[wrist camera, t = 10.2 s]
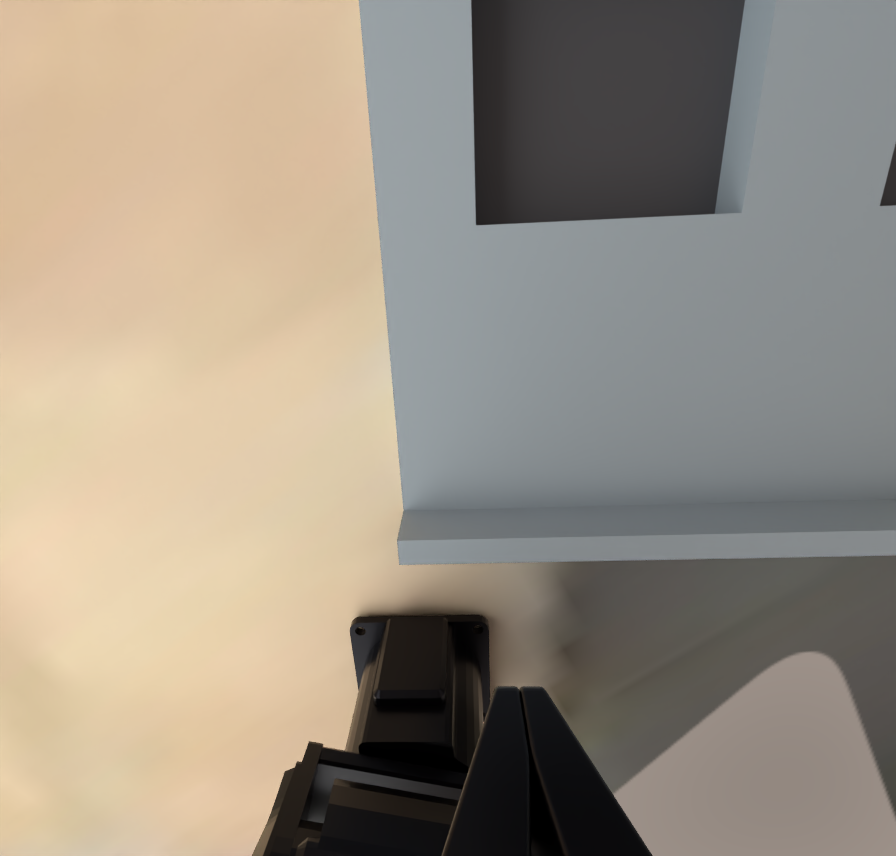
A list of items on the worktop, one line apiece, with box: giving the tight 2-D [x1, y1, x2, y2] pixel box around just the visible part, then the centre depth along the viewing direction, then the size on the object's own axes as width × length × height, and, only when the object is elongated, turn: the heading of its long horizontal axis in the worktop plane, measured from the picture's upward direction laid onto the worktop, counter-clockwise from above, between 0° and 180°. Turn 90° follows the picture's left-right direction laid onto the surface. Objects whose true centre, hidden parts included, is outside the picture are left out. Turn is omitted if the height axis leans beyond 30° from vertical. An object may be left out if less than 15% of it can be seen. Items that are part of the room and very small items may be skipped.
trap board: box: [359, 0, 896, 565], centre depth 14 cm, size 20×28×5 cm
